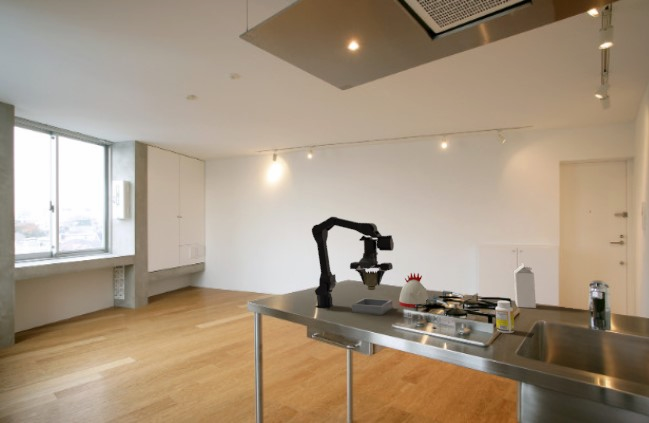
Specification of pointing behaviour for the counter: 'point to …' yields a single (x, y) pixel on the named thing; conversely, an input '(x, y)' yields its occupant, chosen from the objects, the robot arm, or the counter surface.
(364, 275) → the cup
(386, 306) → the tray
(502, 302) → the supplement bottle
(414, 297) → the kitchen timer
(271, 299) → the counter surface
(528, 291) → the milk carton
